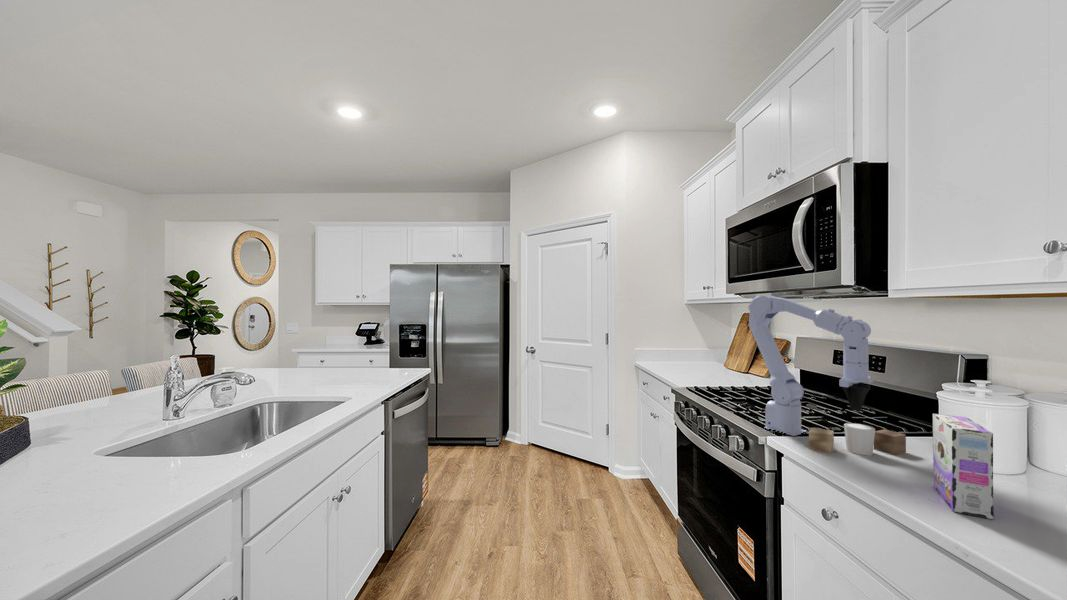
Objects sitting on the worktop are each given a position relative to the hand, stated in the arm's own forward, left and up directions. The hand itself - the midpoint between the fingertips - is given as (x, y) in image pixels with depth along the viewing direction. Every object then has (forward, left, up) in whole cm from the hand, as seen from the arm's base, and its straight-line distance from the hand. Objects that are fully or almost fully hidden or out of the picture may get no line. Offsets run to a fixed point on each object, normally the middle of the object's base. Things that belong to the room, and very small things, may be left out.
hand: (855, 409), depth 119 cm
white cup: (+2, -4, -11) cm, 12 cm away
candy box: (+26, -21, -11) cm, 35 cm away
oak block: (-4, -11, -11) cm, 16 cm away
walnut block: (+6, +4, -11) cm, 13 cm away
